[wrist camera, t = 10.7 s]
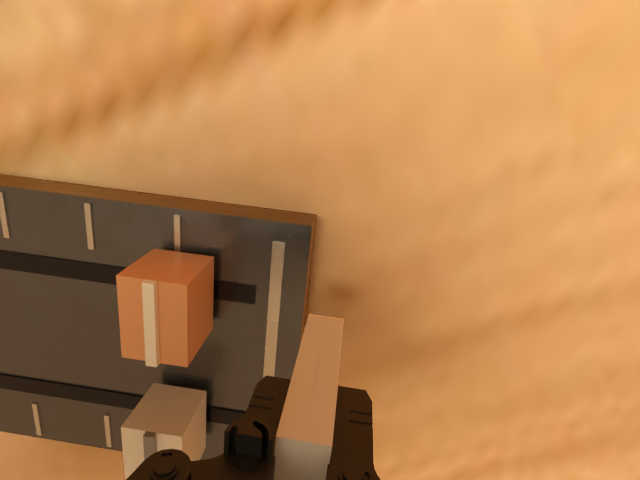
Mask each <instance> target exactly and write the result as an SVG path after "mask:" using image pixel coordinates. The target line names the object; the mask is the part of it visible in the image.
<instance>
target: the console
mask: <svg viewBox="0 0 640 480" xmlns="http://www.w3.org/2000/svg"><path fill="white" fill-rule="evenodd" d="M315 225H316V215H314V214H306V213H298V212H290V211H283V210H275V209H267V208H259V207H251V206H244V205H236V204H228V203H220V202H212V201H205V200H197V199H189V198H181V197H173V196H166V195H158V194H150V193H142V192H134V191H126V190H119V189H111V188H103V187H95V186H87V185H80V184H72V183H64V182H56V181H48V180H41V179H33V178H25V177H17V176H9V175H2V174H0V431H3V432H9V433H15V434H21V435H27V436H33V437H39V438H45V439H51V440H57V441H63V442H69V443H75V444H81V445H87V446H93V447H99V448H105V449H111V450H117V451H123V449H122V436H121V426H122V425H123V423H124V422H125V421H126V419H127V418H128V417H129V415H130V414H131V413H132V411H133V410H134V408H135V407H136V406H137V404H138V403H139V402H140V400H141V399H142V398H143V396H144V395H145V394H146V392H147V391H148V389H149V388H150V387H151V385H152V384H153V383H158V384H164V385H171V386H177V387H184V388H190V389H197V390H203V391H206V448H205V450H204V452H203V454H202V457H201V459H200V460H205V459H210V458H214V457H217V456H219V455H221V454H223V453H224V431H225V430H226V428H227V427H228V425H229V424H231V423H232V422H234V421H235V420H237V419H240V418H244V415H245V413H246V410H247V408H248V406H249V402H250V400H251V397H252V395H253V392H254V389H255V387H256V384H257V383H258V382H259V381H261V380H262V379H263V378H264V377H265V376H273V377H279V378H285V379H291V378H292V374H293V370H294V367H295V363H296V359H297V356H298V352H299V348H300V344H301V341H302V337H303V333H304V328H305V319H306V310H307V300H308V291H309V281H310V272H311V262H312V253H313V244H314V234H315ZM152 249H162V250H169V251H176V252H184V253H191V254H198V255H206V256H213V257H214V294H213V329H212V331H211V332H210V334H209V335H208V337H207V338H206V340H205V341H204V343H203V344H202V346H201V348H200V349H199V351H198V352H197V354H196V355H195V357H194V358H193V360H192V361H191V363H190V364H189V366H188V367H182V366H176V365H169V364H162V363H160V364H159V365H158V366H157V367H151V366H146V363H145V361H143V360H136V359H130V358H123V357H122V354H121V340H120V325H119V311H118V297H117V283H116V275H117V274H118V273H120V272H121V271H123V270H124V269H125V268H127V267H128V266H130V265H131V264H133V263H134V262H135V261H137V260H138V259H140V258H141V257H142V256H144V255H145V254H147V253H148V252H149V251H151V250H152Z"/></svg>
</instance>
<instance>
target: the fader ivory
mask: <svg viewBox="0 0 640 480" xmlns="http://www.w3.org/2000/svg"><path fill="white" fill-rule="evenodd" d="M121 436H122V449H123V462H124V475H125V480H126V479H127V478H128V477H129V476H130V475H131V474H132V473H133V472H134V471H135V470H136V469H137V467H138V466H139V465H140V464H141V463H142V462H143V461H144V460H145V459H147V458H148V457H149V456H150V455H152V454H153V453H156V452H158V451H161V450H165V449H177V450H181V451H183V452H184V453H186V454H187V455H188V456H189V458H190V460H191V461H197V460H200V459H201V457H202V454H203V452H204V450H205V448H206V391H203V390H197V389H190V388H184V387H177V386H171V385H164V384H158V383H153V384H152V385H151V387H150V388H149V389H148V391H147V392H146V394H145V395H144V396H143V398H142V399H141V400H140V402H139V403H138V404H137V406H136V407H135V408H134V410H133V411H132V413H131V414H130V415H129V417H128V418H127V419H126V421H125V422H124V423H123V425H122V426H121Z"/></svg>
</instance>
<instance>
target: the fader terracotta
mask: <svg viewBox="0 0 640 480" xmlns="http://www.w3.org/2000/svg"><path fill="white" fill-rule="evenodd" d="M116 283H117V297H118V311H119V325H120V340H121V354H122V357H123V358H130V359H136V360H143V361H145V363H146V366H151V367H157V366H158V365H159V364H160V363H162V364H169V365H176V366H182V367H188V366H189V364H190V363H191V361H192V360H193V358H194V357H195V355H196V354H197V352H198V351H199V349H200V348H201V346H202V344H203V343H204V341H205V340H206V338H207V337H208V335H209V334H210V332H211V331H212V329H213V294H214V257H213V256H206V255H198V254H191V253H184V252H176V251H169V250H162V249H152V250H151V251H149V252H148V253H147V254H145V255H144V256H142V257H141V258H140V259H138V260H137V261H135V262H134V263H133V264H131V265H130V266H128V267H127V268H125V269H124V270H123V271H121V272H120V273H118V274H117V275H116Z"/></svg>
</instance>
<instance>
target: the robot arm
mask: <svg viewBox="0 0 640 480" xmlns="http://www.w3.org/2000/svg"><path fill="white" fill-rule="evenodd" d="M344 320H345V319H343V318H337V317H330V316H323V315H316V314H309V315H308V318H307V322H306V326H305V330H304V333H303V337H302V341H301V344H300V348H299V352H298V356H297V359H296V363H295V367H294V370H293V374H292V378H291V379H285V378H279V377H273V376H265V377H264V378H263V379H262V380H261V381H259V382H258V383H257V384H256V387H255V389H254V392H253V395H252V397H251V400H250V402H249V406H248V408H247V410H246V413H245V415H244V418H240V419H237V420H235V421H234V422H232V423H231V424H229V425H228V427H227V428H226V430H225V431H224V453H223V454H221V455H219V456H217V457H214V458H210V459H205V460H197V461H191V460H190V458H189V456H188V455H187V454H186V453H184V452H183V451H181V450H177V449H165V450H161V451H158V452H156V453H153V454H152V455H150V456H149V457H148V458H147V459H145V460H144V461H143V462H142V463H141V464H140V465H139V466H138V467H137V469H136V470H135V471H134V472H133V473H132V474H131V475H130V476H129V477H128V478H127V479H126V480H380V478H379V477H378V476H377V474H376V472H375V469H374V464H373V430H372V401H371V399H370V397H369V395H368V394H367V392H366V390H360V389H354V388H348V387H342V386H338V381H339V371H340V361H341V351H342V340H343V330H344Z"/></svg>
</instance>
